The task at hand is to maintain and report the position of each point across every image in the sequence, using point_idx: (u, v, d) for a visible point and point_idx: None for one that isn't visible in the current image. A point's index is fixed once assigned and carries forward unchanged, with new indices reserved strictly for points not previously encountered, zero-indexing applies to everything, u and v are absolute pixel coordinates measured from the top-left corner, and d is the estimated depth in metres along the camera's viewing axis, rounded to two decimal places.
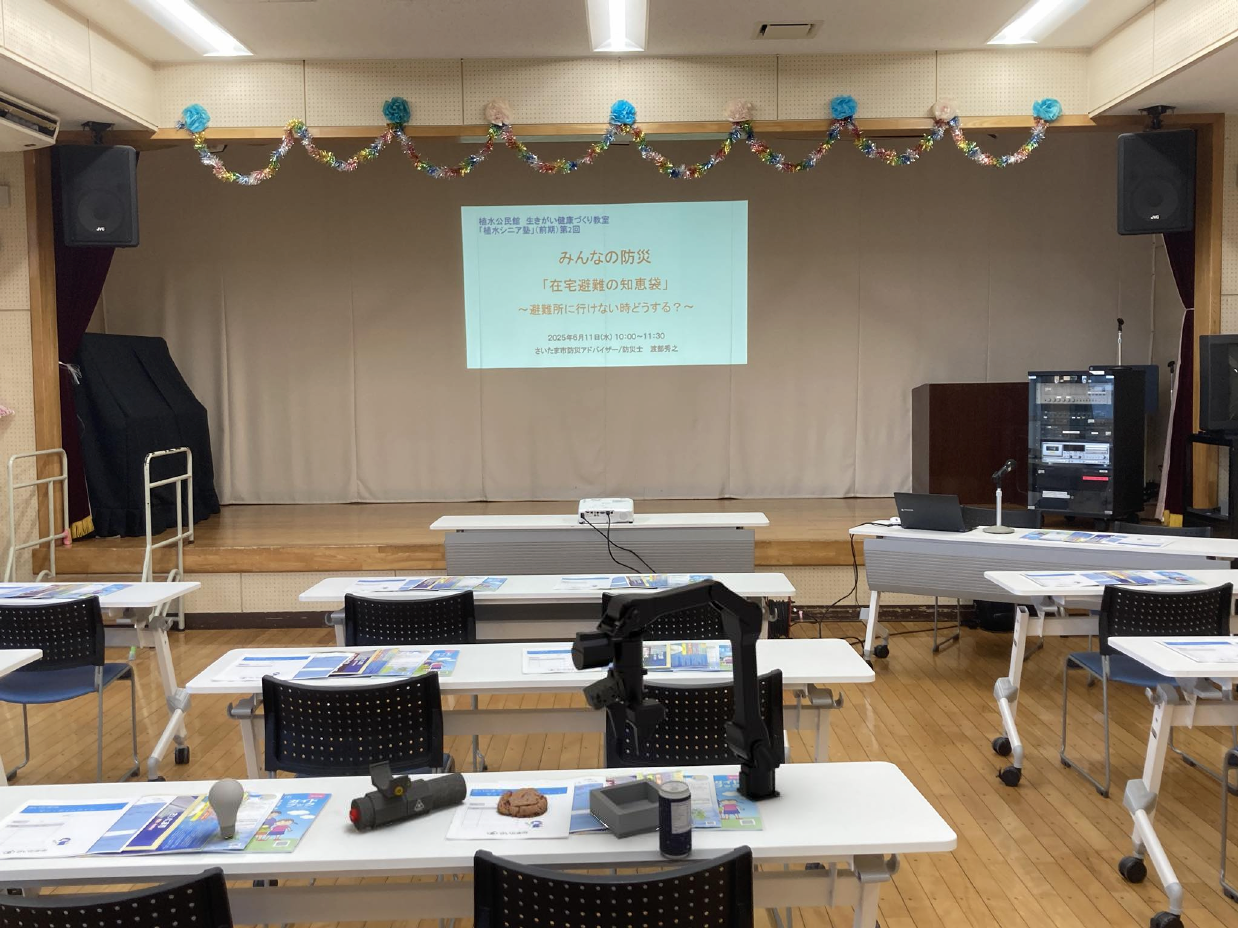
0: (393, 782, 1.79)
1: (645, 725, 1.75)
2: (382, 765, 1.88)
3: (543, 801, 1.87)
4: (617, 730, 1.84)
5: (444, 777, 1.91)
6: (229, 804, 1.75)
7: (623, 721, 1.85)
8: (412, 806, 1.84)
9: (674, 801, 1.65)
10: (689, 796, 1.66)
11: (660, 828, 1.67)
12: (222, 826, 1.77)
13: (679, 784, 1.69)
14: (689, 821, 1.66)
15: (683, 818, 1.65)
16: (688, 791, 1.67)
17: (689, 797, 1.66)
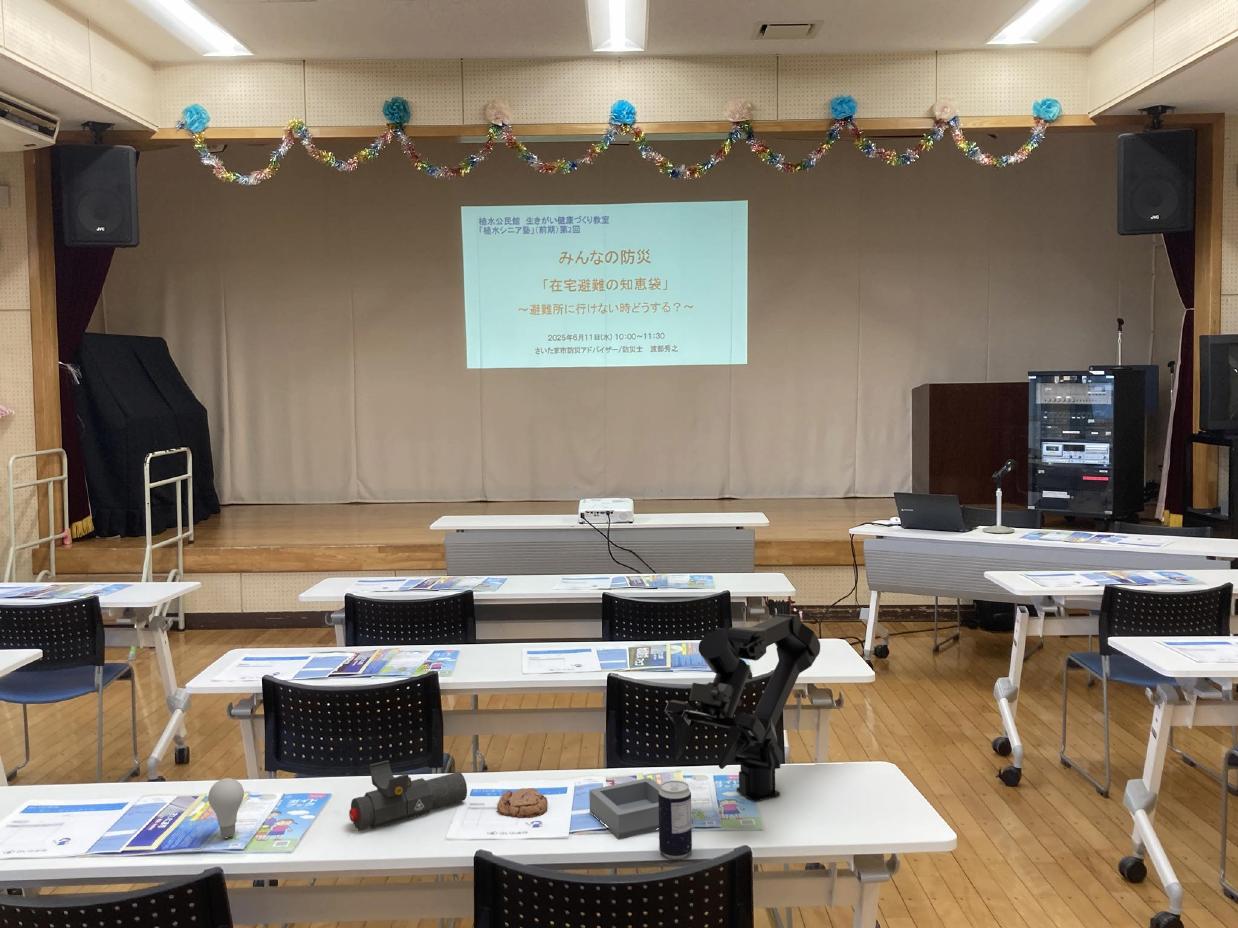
0: (393, 782, 1.80)
1: (737, 743, 1.74)
2: (382, 765, 1.88)
3: (543, 801, 1.87)
4: (679, 749, 1.77)
5: (444, 777, 1.91)
6: (229, 804, 1.75)
7: (684, 745, 1.79)
8: (412, 806, 1.84)
9: (674, 801, 1.65)
10: (689, 796, 1.66)
11: (660, 828, 1.67)
12: (222, 826, 1.77)
13: (678, 784, 1.69)
14: (689, 821, 1.66)
15: (683, 818, 1.65)
16: (688, 791, 1.67)
17: (689, 797, 1.66)
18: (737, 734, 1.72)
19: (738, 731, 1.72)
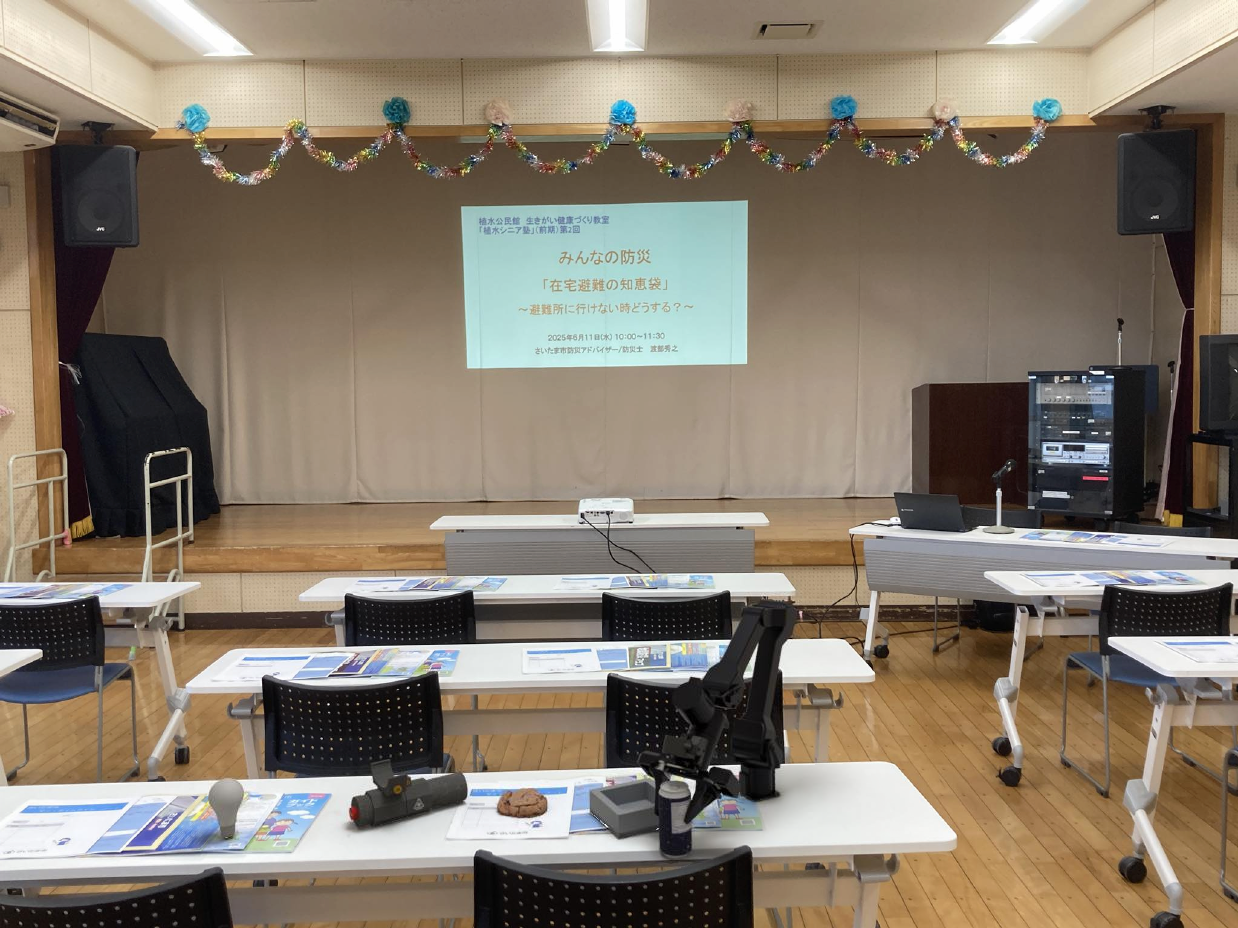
0: (392, 781, 1.80)
1: (703, 796, 1.68)
2: (383, 763, 1.89)
3: (543, 801, 1.87)
4: (658, 805, 1.69)
5: (445, 776, 1.91)
6: (229, 804, 1.75)
7: None
8: (411, 805, 1.84)
9: (674, 801, 1.65)
10: (689, 796, 1.66)
11: (660, 828, 1.67)
12: (222, 826, 1.77)
13: (678, 784, 1.69)
14: None
15: (683, 818, 1.65)
16: (688, 791, 1.67)
17: (689, 797, 1.66)
18: (703, 788, 1.66)
19: (704, 785, 1.66)
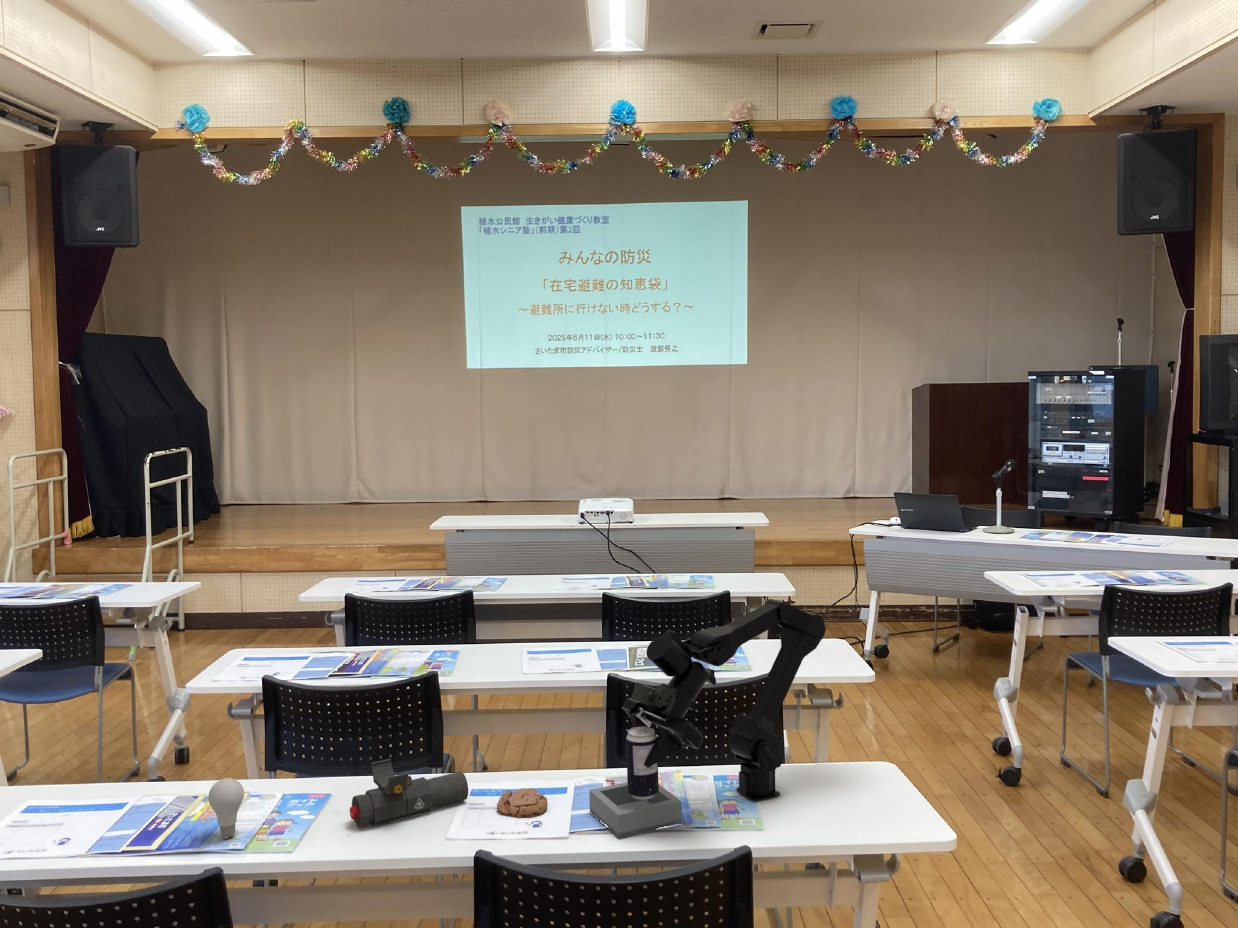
0: (392, 780, 1.80)
1: (667, 744, 1.75)
2: (384, 763, 1.89)
3: (543, 801, 1.87)
4: None
5: (446, 776, 1.91)
6: (229, 804, 1.75)
7: None
8: (412, 805, 1.84)
9: (635, 744, 1.74)
10: (652, 742, 1.75)
11: (627, 769, 1.77)
12: (222, 826, 1.77)
13: (647, 730, 1.77)
14: (651, 766, 1.75)
15: (644, 761, 1.74)
16: (652, 737, 1.75)
17: (652, 743, 1.75)
18: (663, 735, 1.73)
19: (664, 732, 1.73)
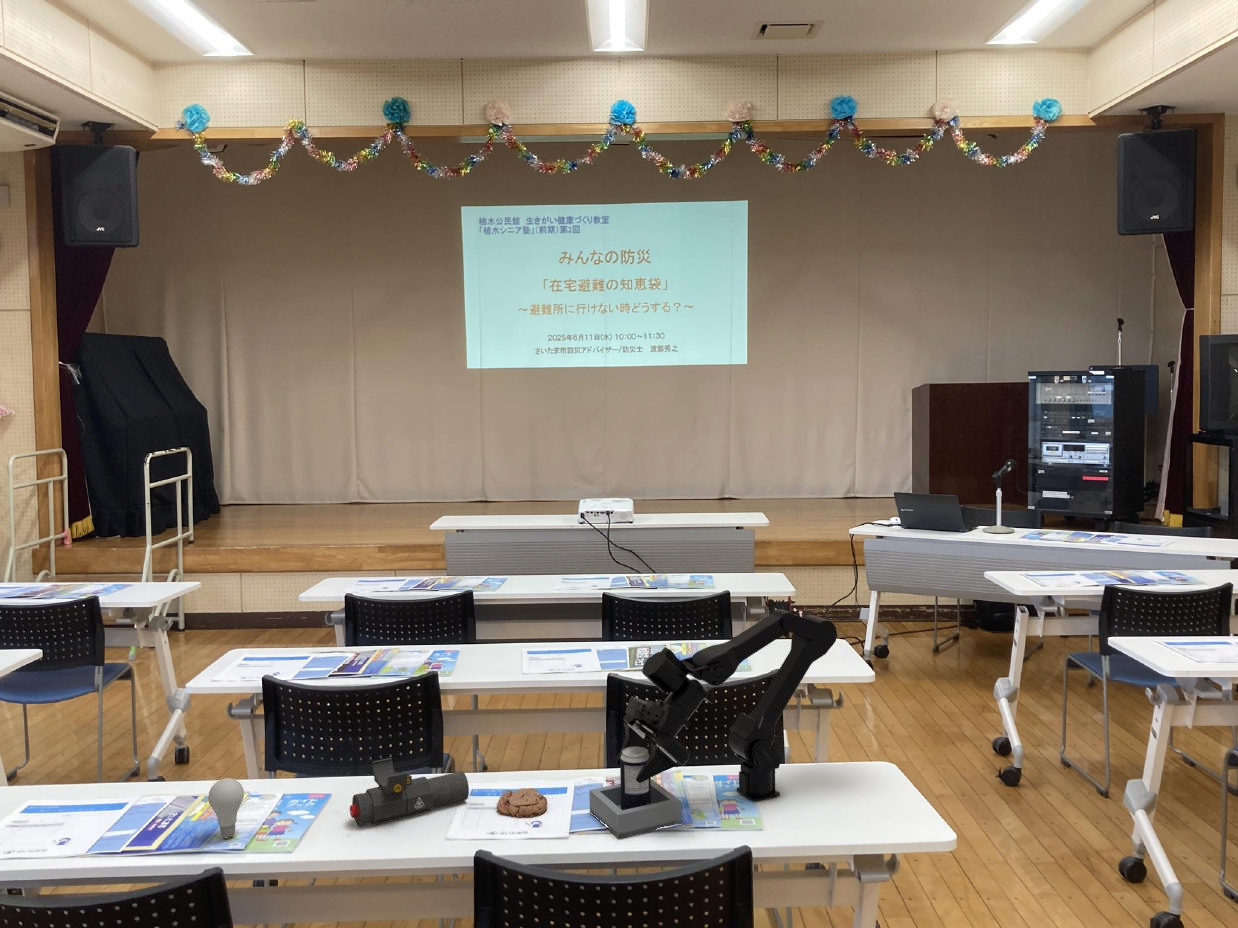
0: (392, 779, 1.81)
1: (660, 761, 1.78)
2: (385, 762, 1.89)
3: (543, 801, 1.87)
4: None
5: (447, 776, 1.91)
6: (229, 804, 1.75)
7: None
8: (412, 804, 1.85)
9: (626, 764, 1.80)
10: (643, 763, 1.80)
11: None
12: (222, 826, 1.77)
13: (641, 751, 1.82)
14: (641, 786, 1.80)
15: (635, 781, 1.79)
16: (643, 758, 1.80)
17: (643, 764, 1.80)
18: (654, 752, 1.76)
19: (655, 749, 1.76)
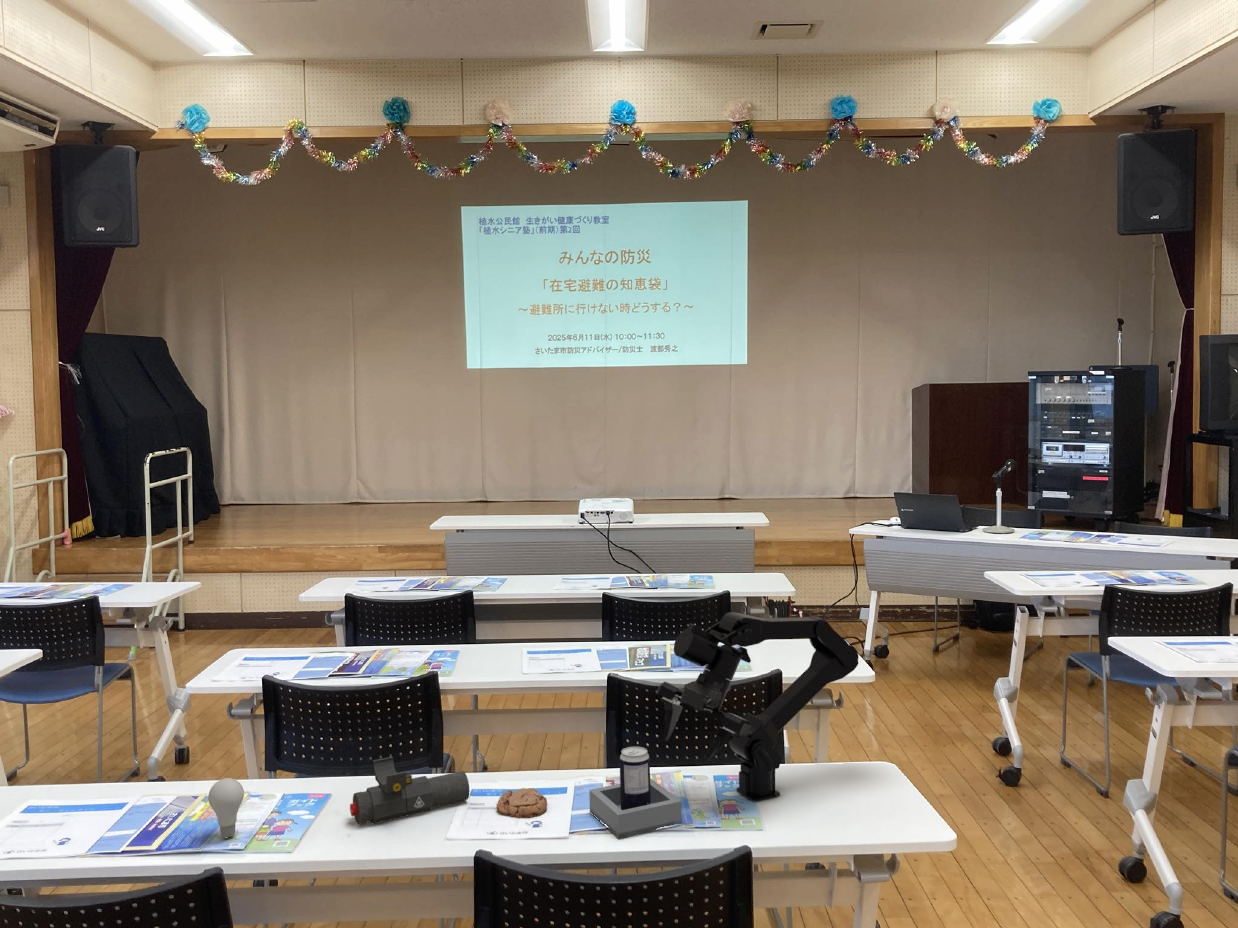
0: (391, 778, 1.81)
1: None
2: (386, 761, 1.90)
3: (542, 802, 1.87)
4: (668, 732, 1.88)
5: (447, 775, 1.91)
6: (229, 804, 1.75)
7: (674, 725, 1.90)
8: (411, 803, 1.85)
9: (626, 764, 1.80)
10: (642, 762, 1.80)
11: None
12: (222, 826, 1.77)
13: (641, 751, 1.83)
14: (641, 786, 1.80)
15: (634, 781, 1.80)
16: (643, 758, 1.80)
17: (642, 763, 1.80)
18: (724, 735, 1.82)
19: (725, 733, 1.81)
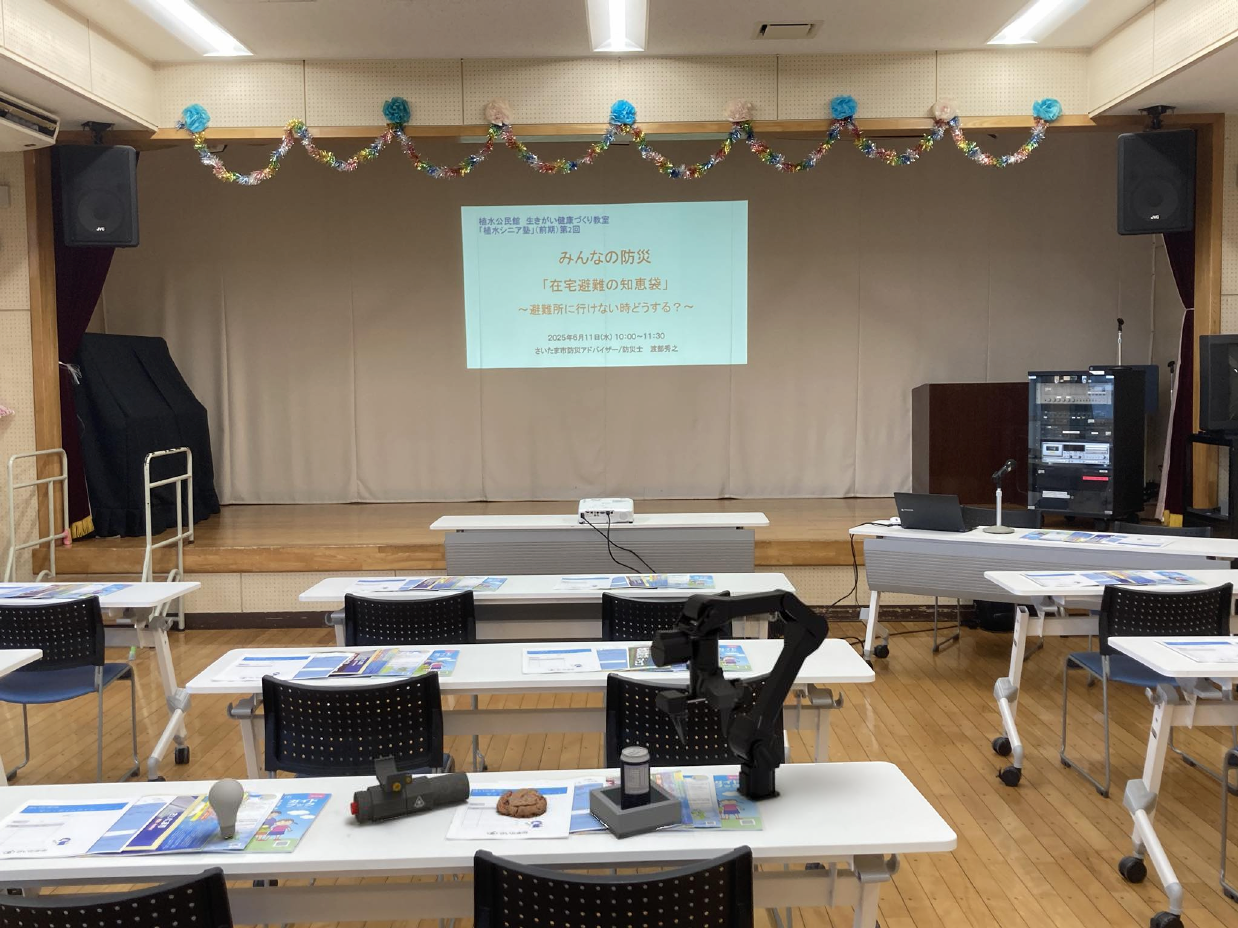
0: (391, 778, 1.82)
1: None
2: (387, 760, 1.90)
3: (542, 802, 1.87)
4: None
5: (448, 775, 1.91)
6: (229, 804, 1.75)
7: None
8: (412, 803, 1.85)
9: (626, 764, 1.80)
10: (643, 762, 1.80)
11: None
12: (222, 826, 1.77)
13: (641, 751, 1.83)
14: (642, 786, 1.80)
15: (635, 781, 1.80)
16: (643, 758, 1.80)
17: (643, 763, 1.80)
18: (739, 707, 1.88)
19: (741, 706, 1.88)
